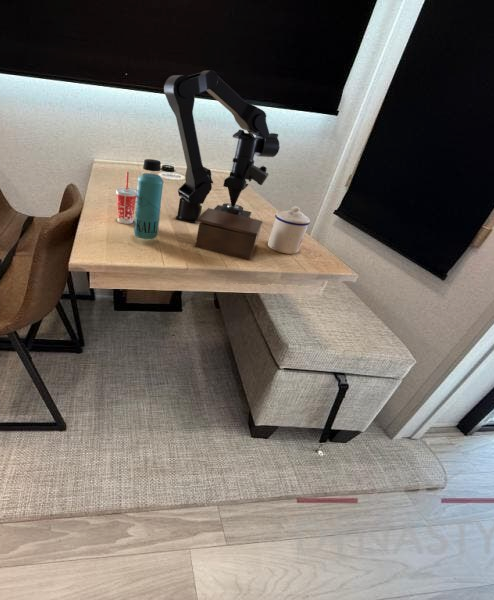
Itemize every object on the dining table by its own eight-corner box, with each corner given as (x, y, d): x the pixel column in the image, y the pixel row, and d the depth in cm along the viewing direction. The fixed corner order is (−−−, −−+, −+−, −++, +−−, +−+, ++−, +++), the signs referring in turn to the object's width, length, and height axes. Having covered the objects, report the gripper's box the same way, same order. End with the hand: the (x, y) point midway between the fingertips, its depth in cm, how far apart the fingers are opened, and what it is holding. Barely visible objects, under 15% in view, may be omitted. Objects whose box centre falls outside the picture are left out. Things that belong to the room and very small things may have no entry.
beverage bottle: (145, 233, 91) (152, 156, 80) (162, 241, 87) (172, 162, 76) (127, 238, 87) (132, 157, 76) (144, 247, 83) (152, 163, 72)
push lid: (225, 210, 109) (226, 205, 108) (227, 208, 112) (228, 203, 112) (236, 213, 108) (238, 208, 107) (238, 210, 111) (240, 205, 111)
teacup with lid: (304, 255, 90) (320, 214, 83) (273, 253, 89) (286, 211, 82) (287, 239, 100) (300, 200, 94) (259, 236, 99) (270, 198, 92)
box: (195, 246, 87) (199, 223, 84) (206, 233, 96) (210, 212, 93) (249, 260, 83) (256, 236, 80) (255, 245, 92) (261, 223, 89)
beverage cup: (136, 219, 100) (140, 171, 93) (133, 225, 95) (137, 175, 88) (117, 216, 100) (119, 168, 93) (112, 222, 95) (114, 172, 88)
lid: (196, 221, 84) (197, 218, 83) (207, 210, 93) (208, 207, 93) (256, 236, 80) (257, 233, 79) (261, 223, 89) (262, 221, 89)
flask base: (209, 218, 109) (212, 206, 107) (216, 210, 117) (218, 199, 115) (245, 226, 106) (248, 213, 104) (249, 218, 114) (252, 206, 112)
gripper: (267, 163, 92) (253, 218, 100) (273, 156, 107) (260, 204, 115) (228, 157, 94) (217, 210, 103) (239, 151, 110) (229, 198, 118)
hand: (233, 205), depth 109 cm, fingers closed, pressing on push lid
